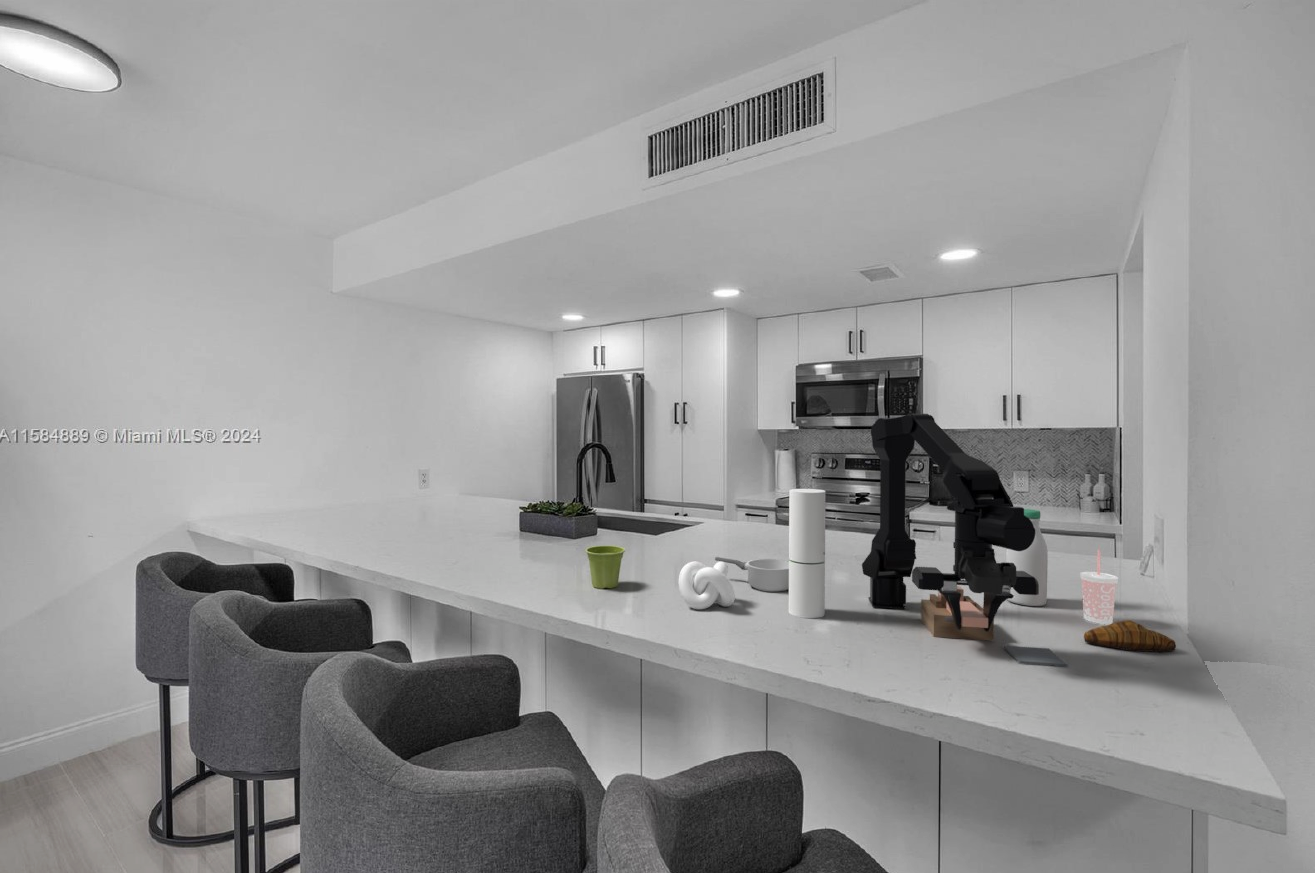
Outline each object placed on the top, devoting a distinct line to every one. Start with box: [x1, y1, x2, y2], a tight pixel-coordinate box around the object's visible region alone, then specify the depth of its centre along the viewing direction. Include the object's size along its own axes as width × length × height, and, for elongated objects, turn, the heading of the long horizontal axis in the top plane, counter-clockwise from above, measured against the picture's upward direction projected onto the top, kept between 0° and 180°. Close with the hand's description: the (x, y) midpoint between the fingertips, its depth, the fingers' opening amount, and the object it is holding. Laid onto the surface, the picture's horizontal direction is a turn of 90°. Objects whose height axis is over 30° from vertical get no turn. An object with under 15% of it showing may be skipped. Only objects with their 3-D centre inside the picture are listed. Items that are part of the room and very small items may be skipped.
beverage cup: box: [1079, 549, 1119, 626], centre depth 120 cm, size 6×6×14 cm
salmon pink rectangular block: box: [946, 601, 988, 628], centre depth 109 cm, size 4×10×2 cm, turn 169°
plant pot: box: [585, 545, 626, 590], centre depth 146 cm, size 9×9×9 cm
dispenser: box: [920, 585, 995, 641], centre depth 115 cm, size 10×10×7 cm
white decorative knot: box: [678, 560, 736, 611], centre depth 130 cm, size 11×12×9 cm
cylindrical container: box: [788, 488, 826, 619], centre depth 125 cm, size 7×7×25 cm
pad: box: [1003, 645, 1069, 667], centre depth 102 cm, size 7×7×1 cm
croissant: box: [1083, 619, 1177, 652], centre depth 106 cm, size 14×7×5 cm, turn 75°
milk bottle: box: [1005, 508, 1049, 607], centre depth 133 cm, size 8×8×20 cm
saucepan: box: [714, 556, 789, 593], centre depth 147 cm, size 12×20×6 cm, turn 60°
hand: (972, 629), depth 106 cm, fingers closed on salmon pink rectangular block, 4 cm apart
